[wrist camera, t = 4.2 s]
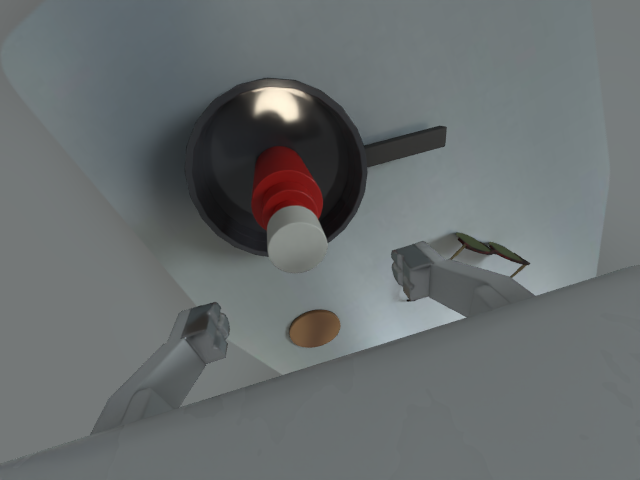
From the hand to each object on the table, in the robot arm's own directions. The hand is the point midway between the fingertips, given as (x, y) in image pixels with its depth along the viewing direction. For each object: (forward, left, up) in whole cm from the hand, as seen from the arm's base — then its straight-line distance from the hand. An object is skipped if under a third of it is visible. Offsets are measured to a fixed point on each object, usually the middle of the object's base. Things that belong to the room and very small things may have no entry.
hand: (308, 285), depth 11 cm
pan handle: (+13, 0, -17) cm, 22 cm away
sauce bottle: (0, 0, -19) cm, 19 cm away
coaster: (-2, -28, -20) cm, 34 cm away
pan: (0, 0, -20) cm, 20 cm away
